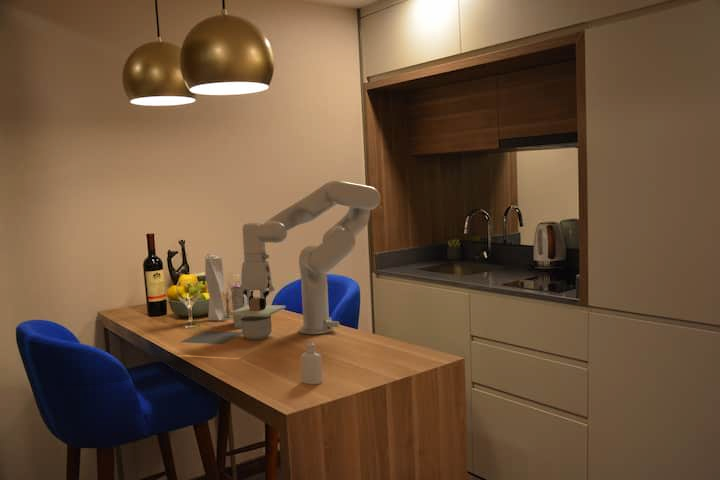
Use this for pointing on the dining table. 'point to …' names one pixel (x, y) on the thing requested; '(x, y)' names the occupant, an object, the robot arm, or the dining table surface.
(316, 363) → the eye dropper bottle
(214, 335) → the mat
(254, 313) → the lid
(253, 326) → the teacup
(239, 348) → the dining table surface
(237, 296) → the candy bar box
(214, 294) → the skyscraper
